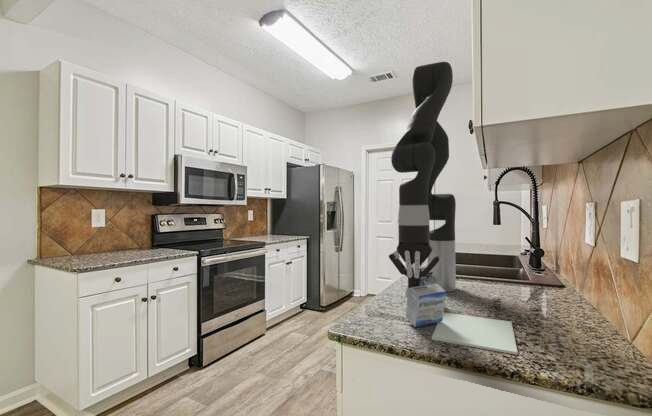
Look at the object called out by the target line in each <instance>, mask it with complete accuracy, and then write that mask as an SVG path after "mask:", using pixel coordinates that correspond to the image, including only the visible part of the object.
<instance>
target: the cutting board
mask: <svg viewBox="0 0 652 416" xmlns="http://www.w3.org/2000/svg"><path fill="white" fill-rule="evenodd" d="M431 340H432V341H437V342H443V343H444V342H445V343H448V344H453V345H454V344H455V345H459V346H466V347H472V348H477V349H481V350H482V349H483V350H488V351H492V352H493V351H494V352H500V353H505V354H510V355H516V356H517V355H519V354H518V348H517V343H516V337H515V333H514V329H513V323H512V321H510V320H509V321H508V320H503V319H502V320H501V319H497V318H496V319H495V318H488V317H479V316H473V315H467V314H465V315H464V314H460V313H459V314H457V313H449V312H444V313H443V320H442V321H441V322H437V324H436V326H435V329H434V330H433V333H432V336H431Z"/></svg>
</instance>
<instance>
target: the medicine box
mask: <svg viewBox="0 0 652 416" xmlns="http://www.w3.org/2000/svg"><path fill="white" fill-rule="evenodd" d="M446 298H447V292H446V291H445V290H444V289H443V288H442V287H440V286H439V285H438V284H437V283H433V284H427V285H421V286H416V287H410V288H408V296H407V297H406V307H405V308H406V310H405V318H406V319H407V320H408V321H409V322H410V323H411V324H412V326H413V327H414V328H419V327H423V326H427V325H431V324H436V323H438V322H441V321H442V320H443V313H445V307H446V306H445V304H446Z"/></svg>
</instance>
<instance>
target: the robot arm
mask: <svg viewBox="0 0 652 416" xmlns="http://www.w3.org/2000/svg"><path fill="white" fill-rule="evenodd" d="M411 76H412V78H411V79H412V81H411V82H412V91H413V99H414V100H413V101H414V106H415V109H414V111H413V112H412V114H411V116H410V118H409V121H408V125H407V129H406V131H405V132H404V133H403V135H402V137H401V138H400V139H399V140H398V142H397V143H396V144H395V146H394V148H393V150H392V152H391V160H390V161H391V165H392V166H391V167H392V168H393V169H394V170H395V171H396V172H398V173H401V174H403V173H404V174H406V173H417V174H416V176H415V177H414V178H413V179H411V180H409V181H405V182H401V184H400V185H399V187H398V195H399V196H398V197H399V198H398V199H399V200H398V201H399V202H398V204H399V206H398V213H397V214H398V216H397V218H398V219H397V223H398V224H397V225H398V244H397V247H396V250H395V251H394V252H392V253H390V254H389V255H388V259H389V260H390V261H391V263H392V264H393V265H394V266H395V268H396V269H397V270H398V272H399V274H401V275H404V276H405V277H407V286H408V288H410V287H416V286H421V277H425V276H426V275H427V274H428V273H429V272H433V273H434V274H435V275H436V276H437V277H438V280H439V284H438V285H439V286H440V287H442V288H443V289H444V290H445V291H446V293H448V292H451V293H452V292H454V291H456V290H457V287H456V285H457V284H456V283H457V280H456V279H457V278H456V275H457V274H456V272H457V271H456V232H455V231H456V206H457V205H456V197H455V196H454V194H452V193H435V194H434V193H432V192H433V187H434V185H435V183H436V182H437V179H438V178H439V176H440V174H441V173H442V171H443V170H444V168H445V167H446V165H447V163H448V161H449V158H450V144H449V143H450V140H449V136H448V134H447V132H446V131H445V129H444V128H443V126H442V125H441V124H440V123H439V121H438V118H439V115H440V114H441V111H442V109H443V107H444V105H445V103H446V101H447V99H448V97H449V94H450V92H451V90H452V86H453V68H452V66H451V64H450V63H449V62H447V61H439V62H434V63H433V62H432V63H429V64H422V65H419V66H416V67H414V69H413V72H412V75H411ZM430 221H445V223H443V225H442V226H441V225H440V226H439V227H438V228H434V229H430ZM400 258H401V259H402V260H403V262H405V265H404V263H403V262H402V261H401V260H400ZM426 260H427V266H426V267H425V270H424V271H421V268H422V266H423V264H424V263H425V261H426Z"/></svg>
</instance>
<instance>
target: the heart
mask: <svg viewBox="0 0 652 416" xmlns="http://www.w3.org/2000/svg"><path fill="white" fill-rule="evenodd" d="M425 268H426V267H425V266H423V265H422V268H421V271H424V270H425ZM433 283H437V284H439V280H438V277H437V276H436V275H435V274H434V273H433V272H429V273H428V274H427V275H426V276H425V277H421V285H427V284H433ZM407 296H408V285H407V287H406V289H405V297H406V298H407Z"/></svg>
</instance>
